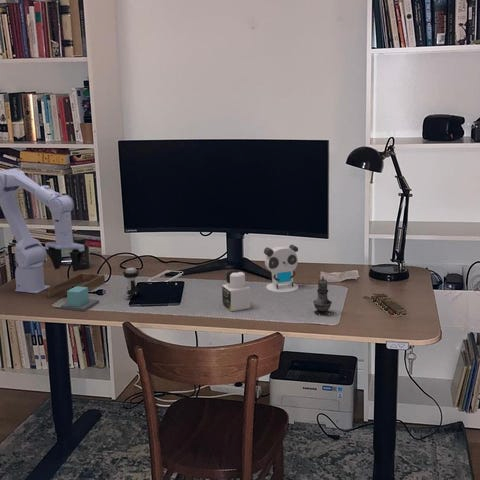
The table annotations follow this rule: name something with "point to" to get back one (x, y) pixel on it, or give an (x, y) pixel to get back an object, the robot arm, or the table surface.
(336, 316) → the table surface
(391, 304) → the olive brown jagged slab
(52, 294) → the channel
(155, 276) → the phone case
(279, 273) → the panda figurine
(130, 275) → the push button
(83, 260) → the supplement bottle
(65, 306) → the pad
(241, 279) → the medicine bottle
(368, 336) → the table surface
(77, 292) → the block
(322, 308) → the dark grey chess piece
